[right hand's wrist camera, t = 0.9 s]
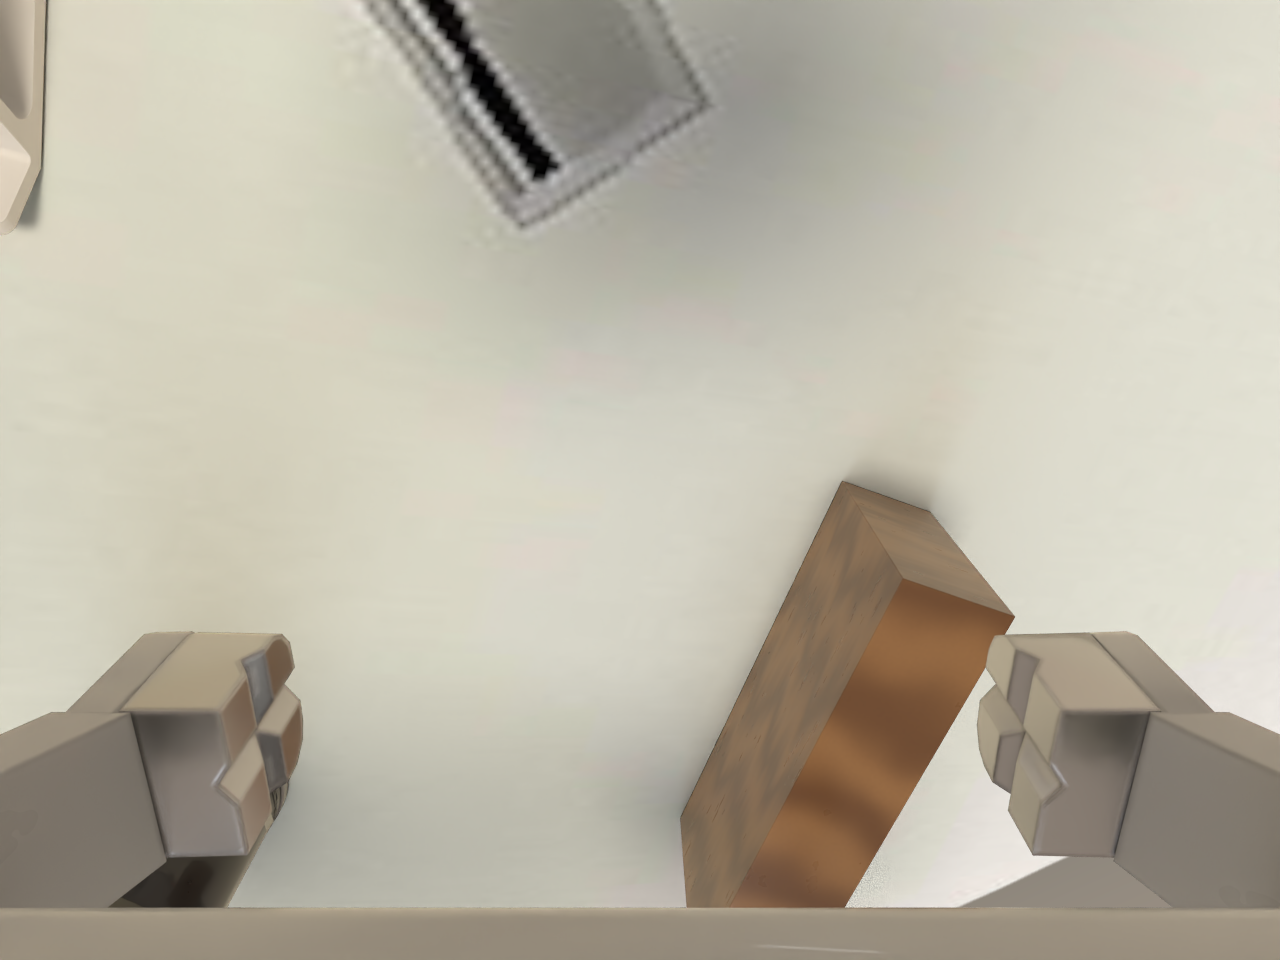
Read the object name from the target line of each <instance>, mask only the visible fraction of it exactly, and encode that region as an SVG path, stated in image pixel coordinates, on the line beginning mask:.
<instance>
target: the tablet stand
mask: <svg viewBox="0 0 1280 960" xmlns="http://www.w3.org/2000/svg"><path fill="white" fill-rule="evenodd" d="M45 11H46V0H0V235H6V234H8V233H10V232H11V231H13V230H14V229H15V227H16V226H17V223H18V221H19V219H20V216H21V214H22V212H23V209H24V207H25V204H26V202H27V200H28V197H29V195H30V193H31V190H32V188H33V186H34V183H35V181H36V178H37V176H38V174H39V171H40V169H41V148H42V114H43V80H44V45H45Z"/></svg>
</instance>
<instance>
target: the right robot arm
mask: <svg viewBox="0 0 1280 960" xmlns="http://www.w3.org/2000/svg"><path fill="white" fill-rule="evenodd" d="M294 668H295V666H294V661H293V656H292V651H291V646H290V642H289V641H288V640H287V639H286V638H285V637H284V636H283V634H264V633H212V632H198V633H194V632H192V631H191V632H154V633H149V634H144V635H143V636H142V637H141V638H140V639H139V640H138V641H137V642H136V643H135V644H134V645H133V646H132V647H131V648H130V649H129V650H128V651H127V652H126V653H125V654H124V655H123V656H122V657H121V658H120V659H119V660H118V661H117V662H116V663H115V664H114V665H113V666H112V667H111V668H110V669H109V670H108V671H107V672H106V673H105V674H104V675H103V676H102V677H101V678H100V679H99V680H98V681H97V682H96V683H95V684H94V685H93V686H92V687H91V688H90V689H89V690H88V691H87V692H85V693H84V694H83V695H82V696H81V697H80V698H79V699H78V700H77V701H76V702H75V703H74V704H73V705H72V706H71V707H70V708H69V709H68V710H67V711H66V712H51V713H48V714H46V715H44V716H42V717H39V718H37V719H35V720H32V721H30V722H28V723H26V724H23V725H21V726H19V727H16V728H14V729H12V730H10V731H7V732H5V733H3V734H1V735H0V960H1280V734H1277V733H1275V732H1273V731H1271V730H1268V729H1266V728H1264V727H1261V726H1259V725H1257V724H1255V723H1252V722H1250V721H1248V720H1246V719H1243V718H1241V717H1239V716H1236V715H1234V714H1232V713H1230V712H1214V711H1213V710H1212V709H1211V708H1210V707H1209V706H1208V705H1207V704H1206V703H1205V702H1204V701H1203V700H1202V699H1201V698H1200V697H1199V696H1198V695H1197V694H1196V693H1195V692H1194V691H1193V690H1192V689H1191V688H1190V687H1189V686H1188V685H1187V684H1186V683H1185V682H1184V681H1183V680H1182V679H1181V678H1180V677H1179V676H1178V675H1177V674H1176V673H1175V672H1174V671H1173V670H1172V669H1171V668H1170V667H1169V666H1168V665H1167V664H1166V663H1165V662H1164V661H1163V660H1162V659H1161V658H1160V657H1159V656H1158V655H1157V654H1156V653H1155V652H1154V651H1153V650H1152V649H1151V648H1150V647H1149V646H1148V645H1147V644H1146V643H1145V642H1144V641H1143V640H1142V639H1141V638H1140V637H1139V636H1138V635H1135V634H1132V633H1130V632H1127V631H1119V632H1094V633H1053V634H1013V635H996V636H994V638H993V640H992V643H991V645H990V647H989V650H988V656H987V661H986V669H987V670H988V672H989V674H990V675H991V677H992V678H993V680H994V681H995V683H996V684H995V685H994V686H993V687H992V688H991V689H990V690H989V691H988V693H987V694H986V695H985V696H984V697H983V698H982V699H981V700H980V704H979V712H978V720H977V732H978V743H979V751H980V754H981V757H982V760H983V764H984V767H985V769H986V771H987V772H988V774H989V776H990V778H991V780H992V782H993V783H995V784H996V785H998V786H999V787H1001V788H1002V789H1004V790H1005V791H1007V792H1008V793H1010V794H1011V796H1010V802H1009V807H1008V811H1009V813H1010V815H1011V817H1012V819H1013V820H1014V822H1015V824H1016V826H1017V828H1018V829H1019V831H1020V833H1021V835H1022V837H1023V838H1024V840H1025V842H1026V844H1027V846H1028V847H1029V849H1030V851H1031V853H1032V855H1039V856H1077V857H1112V858H1114V862H1115V863H1117V864H1118V865H1119V866H1120V867H1122V868H1123V869H1124V870H1126V871H1127V872H1128V873H1129V874H1131V875H1132V876H1133V877H1135V878H1136V879H1137V880H1138V881H1140V882H1141V883H1142V884H1144V885H1145V886H1146V887H1147V888H1149V889H1150V890H1151V891H1153V892H1154V893H1155V894H1156V895H1158V896H1159V897H1160V898H1161V899H1163V900H1164V901H1165V902H1167V903H1168V904H1169V905H1171V906H1172V907H1173V908H108V907H109V906H110V905H111V904H113V903H114V902H115V901H117V900H118V899H119V898H120V897H122V896H123V895H124V894H126V893H127V892H128V891H129V890H131V889H132V888H133V887H135V886H136V885H137V884H138V883H140V882H141V881H142V880H144V879H145V878H146V877H147V876H149V875H150V874H151V873H153V872H154V871H155V870H156V869H158V868H159V867H160V866H162V865H163V864H164V863H165V862H166V858H168V857H204V856H239V855H248V854H249V852H250V850H251V848H252V846H253V845H254V843H255V841H256V839H257V837H258V835H259V834H260V832H261V830H262V828H263V826H264V825H265V823H266V821H267V819H268V817H269V816H270V814H271V812H272V806H271V800H270V793H272V792H273V791H275V790H276V789H278V788H279V787H281V786H283V785H284V784H286V783H287V782H288V781H289V779H290V777H291V775H292V773H293V771H294V769H295V767H296V765H297V762H298V758H299V753H300V749H301V745H302V740H303V715H302V709H301V702H300V699H299V698H298V697H297V696H296V695H295V694H294V693H293V692H292V691H291V690H290V689H289V688H288V687H287V686H286V685H285V684H284V683H285V682H286V680H287V679H288V677H289V676H290V674H291V672H292V671H293V669H294Z"/></svg>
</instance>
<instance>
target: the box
mask: <svg viewBox="0 0 1280 960" xmlns="http://www.w3.org/2000/svg"><path fill="white" fill-rule="evenodd" d="M1014 618H1015V616H1014V615H1013V614H1012V612H1011V611H1010V610H1009V609H1008V607H1007V606H1006V605H1005V604H1004V602H1003V601H1002V600H1001V599H1000V597H999V596H998V595H997V594H996V593H995V591H994V590H993V589H992V588H991V586H990V585H989V584H988V583H987V581H986V580H985V579H984V578H983V576H982V575H981V574H980V573H979V572H978V570H977V569H976V568H975V567H974V565H973V564H972V563H971V562H970V560H969V559H968V558H967V557H966V555H965V554H964V553H963V552H962V551H961V549H960V548H959V547H958V546H957V544H956V543H955V542H954V541H953V539H952V538H951V537H950V536H949V534H948V533H947V532H946V531H945V530H944V528H943V527H942V526H941V525H940V523H939V522H938V521H937V520H936V518H935V517H934V516H933V515H932V514H931V512H929V511H926V510H923V509H920V508H917V507H914V506H912V505H909V504H906V503H903V502H900V501H897V500H895V499H892V498H889V497H886V496H883V495H880V494H878V493H875V492H872V491H869V490H866V489H863V488H861V487H858V486H855V485H852V484H849V483H846V482H844V481H842V483H841V485H840V487H839V489H838V491H837V493H836V495H835V497H834V499H833V501H832V503H831V505H830V508H829V510H828V512H827V514H826V516H825V518H824V520H823V522H822V524H821V526H820V528H819V530H818V533H817V535H816V537H815V539H814V541H813V543H812V545H811V547H810V549H809V551H808V553H807V555H806V558H805V560H804V562H803V564H802V566H801V568H800V570H799V572H798V574H797V576H796V578H795V580H794V582H793V585H792V587H791V589H790V591H789V593H788V595H787V597H786V599H785V601H784V603H783V605H782V607H781V610H780V612H779V614H778V616H777V618H776V620H775V622H774V624H773V626H772V628H771V630H770V632H769V635H768V637H767V639H766V641H765V643H764V645H763V647H762V649H761V651H760V653H759V655H758V657H757V660H756V662H755V664H754V666H753V668H752V670H751V672H750V674H749V676H748V678H747V680H746V682H745V685H744V687H743V689H742V691H741V693H740V695H739V697H738V699H737V701H736V703H735V705H734V707H733V710H732V712H731V714H730V716H729V718H728V720H727V722H726V724H725V726H724V728H723V730H722V732H721V735H720V737H719V739H718V741H717V743H716V745H715V747H714V749H713V751H712V753H711V755H710V757H709V760H708V762H707V764H706V766H705V768H704V770H703V772H702V774H701V776H700V778H699V780H698V782H697V784H696V787H695V789H694V791H693V793H692V795H691V797H690V799H689V801H688V803H687V805H686V807H685V809H684V812H683V814H682V816H681V818H680V822H681V835H682V849H683V863H684V877H685V890H686V904H687V908H845V906H846V904H847V902H848V901H849V899H850V897H851V896H852V894H853V892H854V891H855V889H856V887H857V885H858V884H859V882H860V880H861V879H862V877H863V875H864V873H865V872H866V870H867V868H868V867H869V865H870V863H871V862H872V860H873V858H874V856H875V855H876V853H877V851H878V850H879V848H880V846H881V845H882V843H883V841H884V839H885V838H886V836H887V834H888V833H889V831H890V829H891V827H892V826H893V824H894V822H895V821H896V819H897V817H898V816H899V814H900V812H901V810H902V809H903V807H904V805H905V804H906V802H907V800H908V799H909V797H910V795H911V793H912V792H913V790H914V788H915V787H916V785H917V783H918V781H919V780H920V778H921V776H922V775H923V773H924V771H925V770H926V768H927V766H928V764H929V763H930V761H931V759H932V758H933V756H934V754H935V753H936V751H937V749H938V747H939V746H940V744H941V742H942V741H943V739H944V737H945V735H946V734H947V732H948V730H949V729H950V727H951V725H952V724H953V722H954V720H955V718H956V717H957V715H958V713H959V712H960V710H961V708H962V707H963V705H964V703H965V701H966V700H967V698H968V696H969V695H970V693H971V691H972V689H973V688H974V686H975V684H976V683H977V681H978V679H979V678H980V676H981V674H982V672H983V671H984V669H985V667H986V661H987V656H988V650H989V647H990V645H991V643H992V640H993V638H994V636H996V635H1005V633H1006V632H1007V630H1008V628H1009V626H1010V625H1011V623H1012V621H1013V620H1014Z"/></svg>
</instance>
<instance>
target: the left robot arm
mask: <svg viewBox="0 0 1280 960" xmlns="http://www.w3.org/2000/svg"><path fill="white" fill-rule="evenodd" d="M287 788H288V783H286V784H284V785H283V786H281V787H279V788H278V789H276V790H275V791H273V792H272V793H270V800H271V806H272V812H271V814H270V816H269V817H268V819H267V821H266V823H265V825H264V826H263V828H262V830H261V832H260V834H259V835H258V837H257V839H256V841H255V843H254V845H253V846H252V848H251V850H250V852H249V854H248V855H239V856H204V857H168V858H166V862H165V863H164V864H163V865H162V866H160V867H159V868H158V869H156V870H155V871H154V872H153V873H151V874H150V875H149V876H147V877H146V878H145V879H144V880H142V881H141V882H140V883H138V884H137V885H136V886H135V887H133V888H132V889H131V890H129V891H128V892H127V893H126V894H124V895H123V896H122V897H120V898H119V899H118V900H117V901H115V902H114V903H113V904H111V905H110V906H109V907H108V908H227V907H228V905H229V903H230V901H231V899H232V897H233V896H234V894H235V892H236V890H237V888H238V886H239V884H240V882H241V880H242V879H243V877H244V875H245V873H246V871H247V869H248V867H249V865H250V863H251V862H252V860H253V858H254V856H255V854H256V852H257V850H258V848H259V846H260V845H261V843H262V841H263V839H264V837H265V835H266V833H267V832H268V830H269V828H270V827H271V825H272V823H273V822H274V820H275V819H276V817H277V816H278V814H279V812H280V810H281V808H282V806H283V804H284V802H285V799H286V796H287Z"/></svg>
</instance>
